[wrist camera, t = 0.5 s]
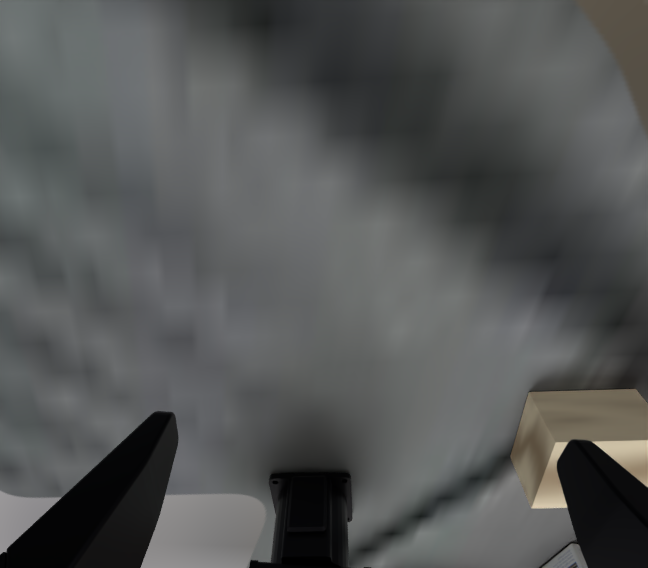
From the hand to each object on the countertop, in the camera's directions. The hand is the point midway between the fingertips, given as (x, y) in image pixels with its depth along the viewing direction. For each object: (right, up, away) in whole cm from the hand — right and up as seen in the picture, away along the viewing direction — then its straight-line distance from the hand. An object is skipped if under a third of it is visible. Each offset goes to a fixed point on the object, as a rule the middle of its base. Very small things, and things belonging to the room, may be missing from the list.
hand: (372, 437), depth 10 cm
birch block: (+16, -7, +20) cm, 27 cm away
